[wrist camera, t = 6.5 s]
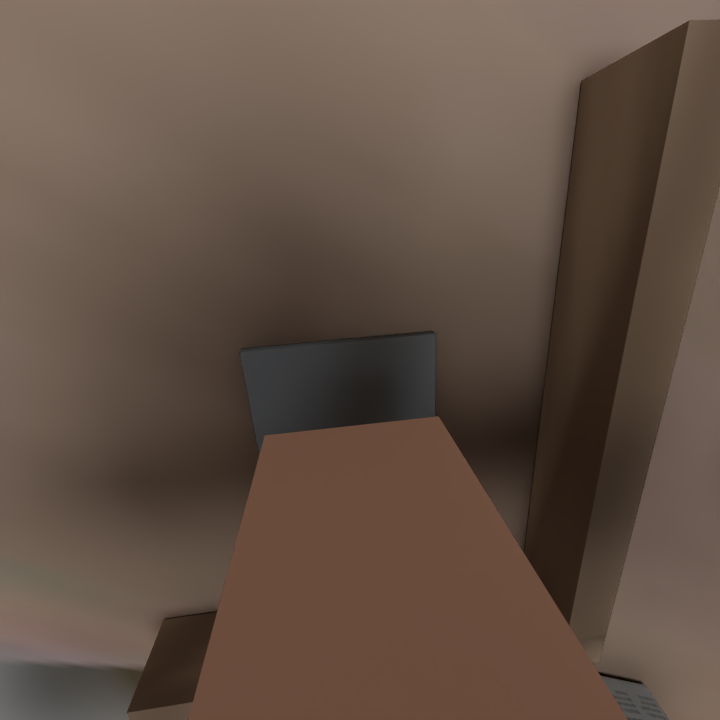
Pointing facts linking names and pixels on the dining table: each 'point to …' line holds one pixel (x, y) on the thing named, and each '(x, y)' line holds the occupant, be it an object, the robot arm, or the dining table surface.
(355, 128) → the dining table surface
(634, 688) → the coffee box
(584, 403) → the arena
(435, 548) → the block
